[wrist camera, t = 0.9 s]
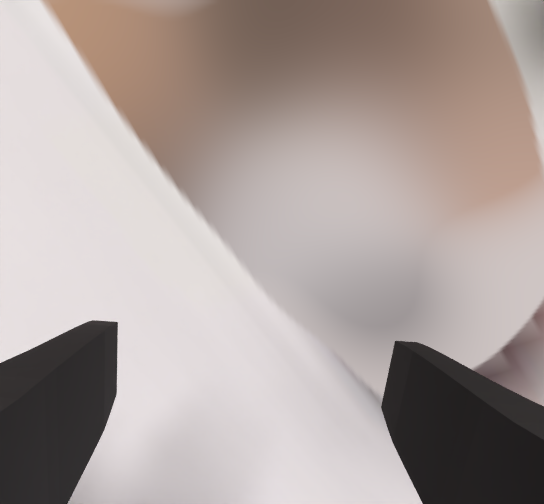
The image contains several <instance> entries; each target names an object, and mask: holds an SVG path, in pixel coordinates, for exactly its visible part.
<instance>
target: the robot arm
mask: <svg viewBox="0 0 544 504" xmlns="http://www.w3.org/2000/svg"><path fill="white" fill-rule="evenodd" d="M117 332H118V322H108V321H93V320H92V321H89V322H87V323H84V324H82V325H80V326H77V327H75V328H73V329H71V330H69V331H67V332H65V333H63V334H61V335H59V336H57V337H55V338H53V339H51V340H49V341H47V342H45V343H43V344H41V345H39V346H37V347H35V348H33V349H31V350H29V351H26V352H24V353H22V354H20V355H17V356H15V357H13V358H11V359H8V360H6V361H4V362H2V363H0V504H67V503H68V501H69V499H70V497H71V495H72V493H73V491H74V489H75V487H76V485H77V484H78V482H79V480H80V478H81V476H82V474H83V472H84V470H85V468H86V466H87V464H88V462H89V460H90V458H91V456H92V454H93V452H94V450H95V448H96V446H97V444H98V442H99V440H100V437H101V435H102V433H103V431H104V429H105V426H106V423H107V421H108V418H109V415H110V412H111V409H112V406H113V403H114V400H115V397H116V393H117ZM381 408H382V411H383V414H384V418H385V421H386V424H387V427H388V430H389V433H390V436H391V439H392V442H393V444H394V446H395V448H396V450H397V452H398V454H399V456H400V458H401V461H402V463H403V465H404V467H405V469H406V471H407V473H408V475H409V477H410V479H411V481H412V483H413V485H414V487H415V489H416V491H417V493H418V495H419V497H420V499H421V501H422V503H423V504H544V406H542V405H539V404H537V403H535V402H533V401H531V400H529V399H527V398H525V397H523V396H521V395H519V394H517V393H515V392H513V391H511V390H509V389H507V388H505V387H503V386H501V385H499V384H497V383H495V382H493V381H491V380H490V379H488V378H486V377H484V376H482V375H480V374H478V373H477V372H475V371H473V370H471V369H469V368H468V367H466V366H464V365H462V364H460V363H458V362H457V361H455V360H453V359H451V358H449V357H447V356H446V355H443V354H442V353H440V352H438V351H436V350H434V349H432V348H430V347H428V346H425V345H423V344H420V343H417V342H404V341H395V345H394V349H393V354H392V359H391V363H390V368H389V373H388V378H387V382H386V387H385V392H384V396H383V401H382V406H381Z"/></svg>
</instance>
